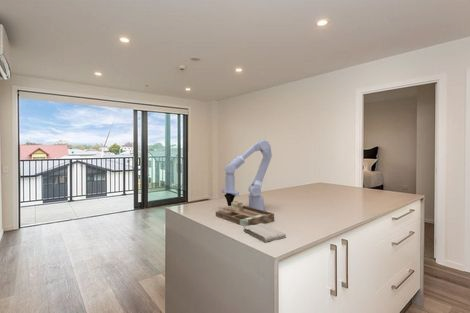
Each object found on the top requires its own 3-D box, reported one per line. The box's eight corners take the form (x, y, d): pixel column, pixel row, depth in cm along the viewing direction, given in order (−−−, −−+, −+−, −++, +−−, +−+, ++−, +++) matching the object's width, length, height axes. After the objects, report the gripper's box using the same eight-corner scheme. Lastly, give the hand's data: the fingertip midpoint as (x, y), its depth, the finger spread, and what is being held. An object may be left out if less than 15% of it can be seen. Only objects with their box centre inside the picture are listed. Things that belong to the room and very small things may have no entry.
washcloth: (261, 227, 122) (261, 221, 122) (287, 238, 107) (287, 231, 107) (241, 231, 116) (241, 225, 116) (265, 244, 101) (265, 236, 101)
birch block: (237, 207, 151) (237, 201, 151) (243, 209, 147) (243, 202, 147) (231, 208, 148) (231, 202, 148) (236, 210, 144) (236, 203, 144)
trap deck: (239, 210, 153) (239, 204, 152) (274, 221, 131) (274, 213, 131) (215, 216, 141) (215, 209, 141) (249, 228, 120) (249, 219, 119)
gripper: (217, 183, 155) (217, 204, 156) (232, 185, 144) (232, 209, 144) (226, 182, 160) (226, 203, 160) (241, 184, 148) (241, 207, 149)
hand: (229, 205), depth 153 cm, fingers closed
